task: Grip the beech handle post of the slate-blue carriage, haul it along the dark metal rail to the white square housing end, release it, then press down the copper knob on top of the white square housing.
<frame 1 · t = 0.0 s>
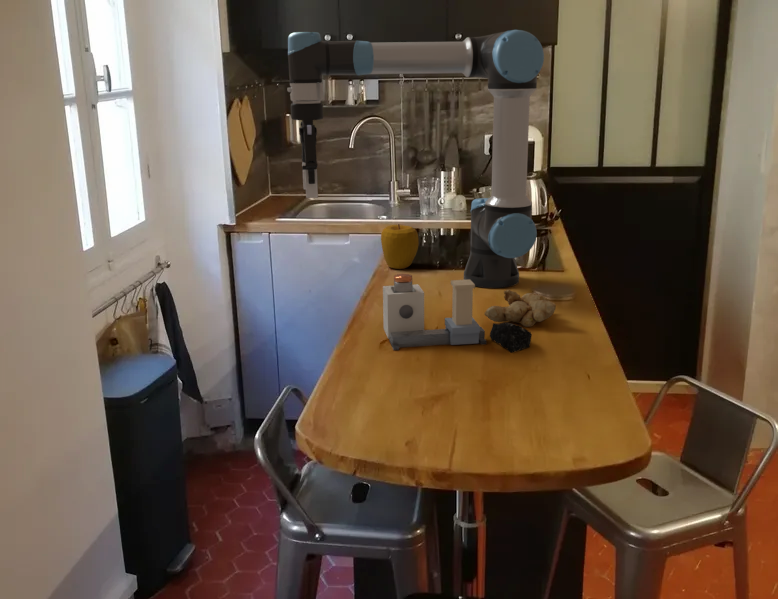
hand: (310, 193, 189), 28 cm above the worktop, fingers open, 13 cm apart
carriage: (462, 311, 168), point 7 cm above the worktop, slide at -5.4 cm
rail: (437, 342, 169), on the worktop
white square housing: (403, 332, 176), on the worktop
copper knob: (403, 289, 173), point 10 cm above the worktop, slide at 0.0 cm
apple: (399, 267, 233), on the worktop
ginger root: (523, 321, 183), on the worktop
rock: (509, 345, 168), on the worktop
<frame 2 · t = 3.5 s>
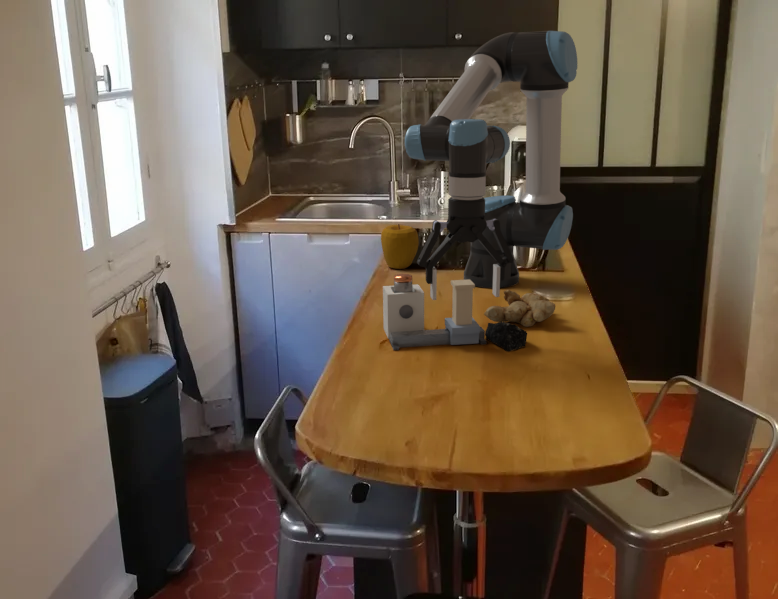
hand: (464, 297, 167), 10 cm above the worktop, fingers open, 13 cm apart
rock: (504, 344, 168), on the worktop
everything else where it was.
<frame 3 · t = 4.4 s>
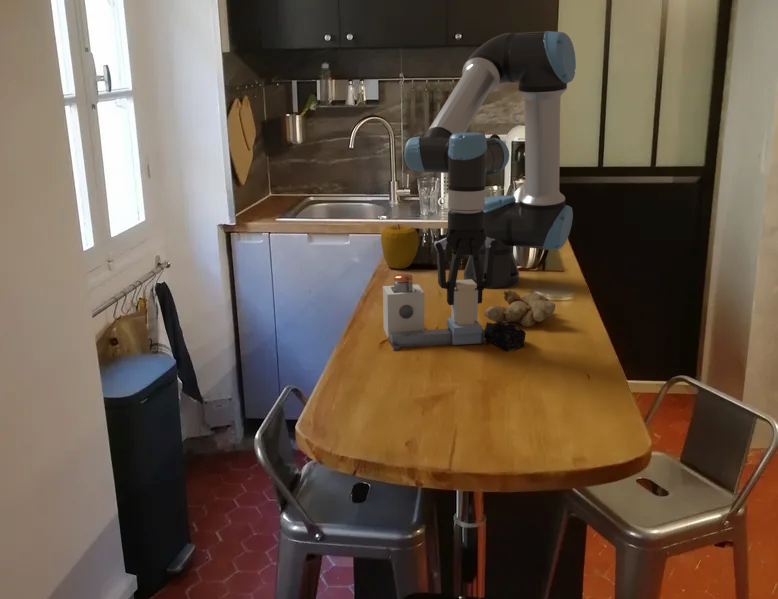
hand: (464, 318, 168), 5 cm above the worktop, fingers closed on carriage, 4 cm apart
carriage: (464, 311, 168), point 7 cm above the worktop, slide at -5.8 cm, touching gripper, rail
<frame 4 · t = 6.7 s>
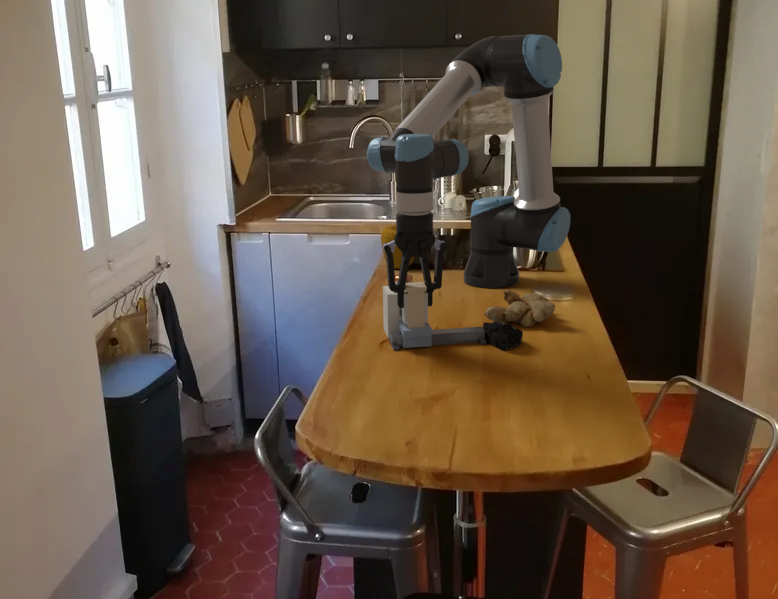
hand: (414, 321, 167), 5 cm above the worktop, fingers closed on carriage, 3 cm apart
carriage: (414, 314, 166), point 7 cm above the worktop, slide at 4.9 cm, touching gripper
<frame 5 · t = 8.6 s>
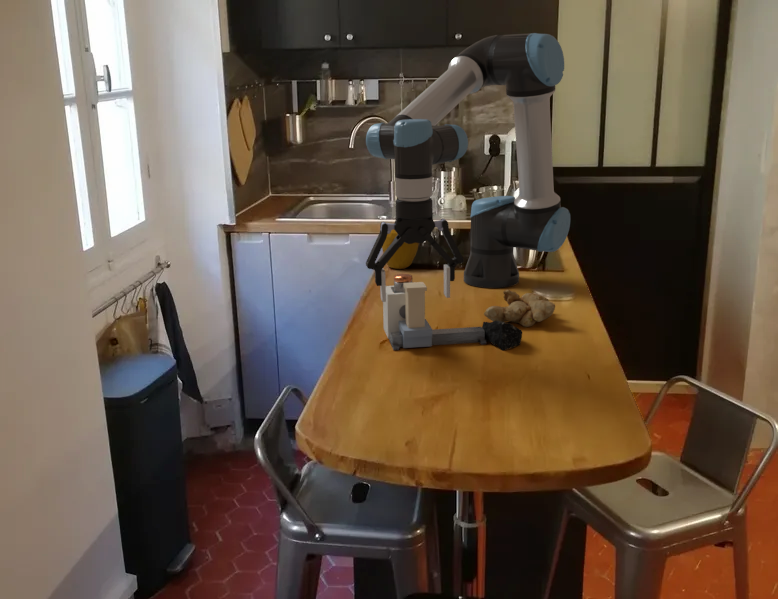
hand: (415, 298, 166), 10 cm above the worktop, fingers open, 13 cm apart
carriage: (415, 314, 166), point 7 cm above the worktop, slide at 4.8 cm
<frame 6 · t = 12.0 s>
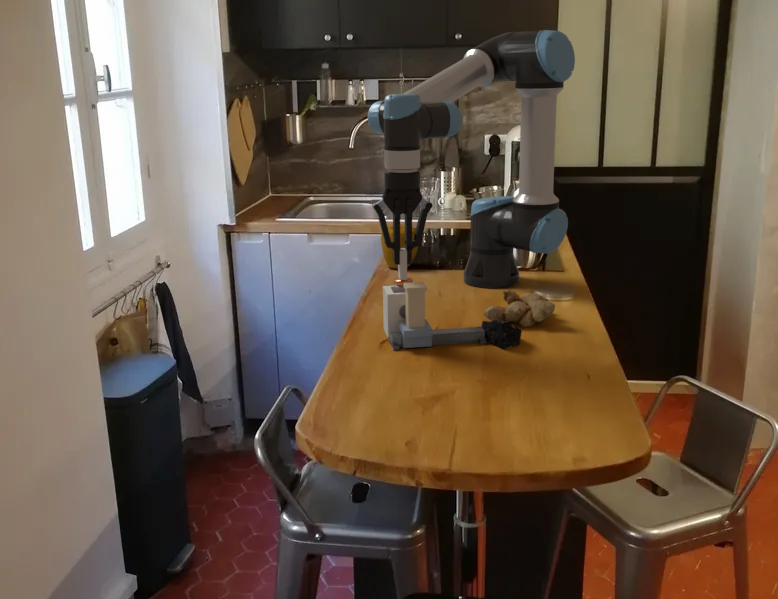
hand: (402, 278, 172), 12 cm above the worktop, fingers closed
copper knob: (403, 292, 173), point 9 cm above the worktop, slide at 0.8 cm, touching gripper
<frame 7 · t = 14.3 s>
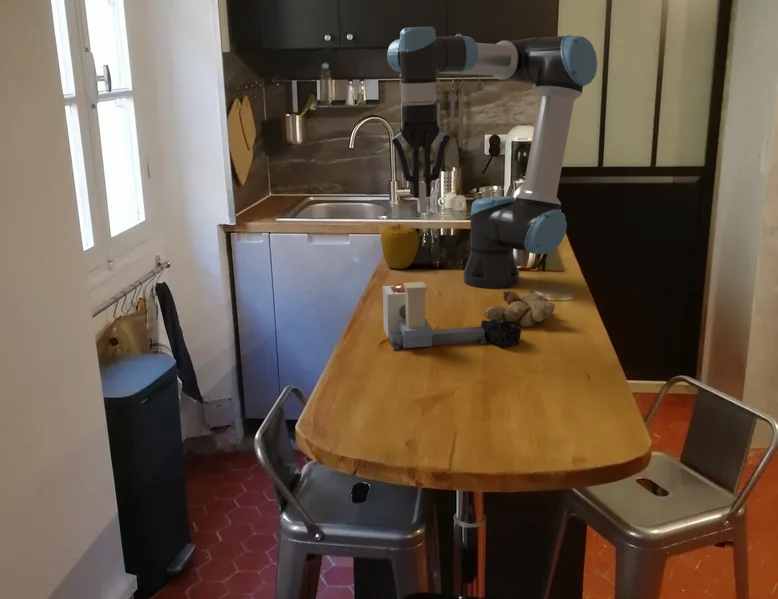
hand: (422, 211, 176), 26 cm above the worktop, fingers closed
copper knob: (403, 298, 173), point 8 cm above the worktop, slide at 2.2 cm
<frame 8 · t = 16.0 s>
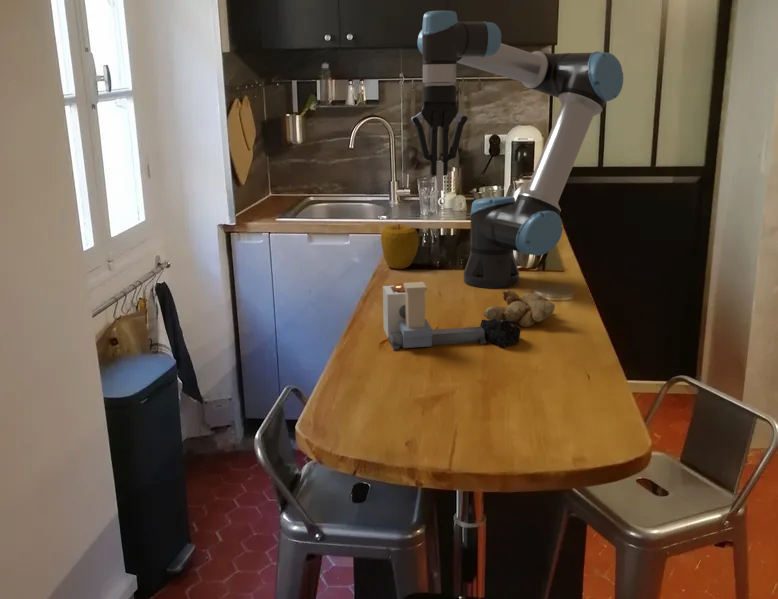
hand: (438, 189, 183), 29 cm above the worktop, fingers closed
at the end: carriage slide at 4.8 cm; copper knob slide at 2.2 cm; the gripper is holding nothing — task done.
